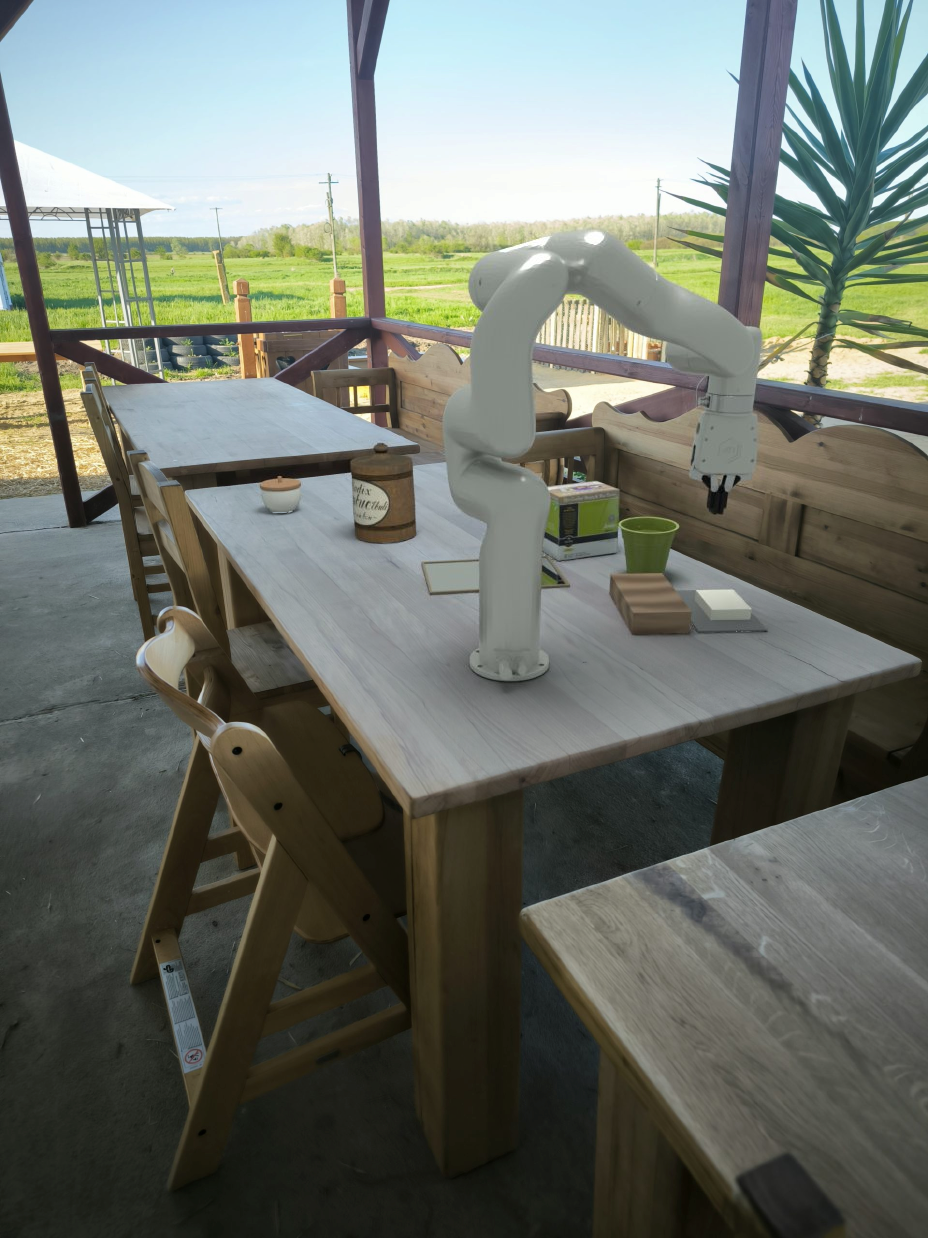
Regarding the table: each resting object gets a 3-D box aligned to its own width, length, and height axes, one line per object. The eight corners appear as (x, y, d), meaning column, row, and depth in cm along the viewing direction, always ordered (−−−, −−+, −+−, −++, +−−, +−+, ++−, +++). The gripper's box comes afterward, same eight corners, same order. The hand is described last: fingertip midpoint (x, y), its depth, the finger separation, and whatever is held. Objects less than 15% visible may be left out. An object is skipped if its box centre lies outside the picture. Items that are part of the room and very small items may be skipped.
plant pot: (627, 564, 174) (630, 513, 170) (681, 573, 169) (686, 521, 164) (606, 581, 165) (609, 527, 161) (663, 591, 159) (668, 535, 155)
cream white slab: (712, 609, 144) (711, 620, 144) (751, 609, 144) (750, 619, 144) (695, 590, 153) (694, 600, 154) (732, 589, 153) (731, 599, 154)
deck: (689, 633, 140) (691, 611, 138) (631, 634, 140) (633, 612, 138) (660, 592, 158) (662, 573, 157) (609, 593, 158) (610, 574, 157)
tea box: (595, 542, 190) (598, 479, 184) (617, 554, 181) (622, 488, 176) (537, 549, 185) (538, 485, 179) (557, 562, 176) (560, 495, 171)
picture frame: (430, 597, 159) (570, 589, 162) (429, 592, 158) (570, 584, 162) (421, 566, 176) (547, 559, 180) (421, 561, 176) (547, 555, 179)
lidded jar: (268, 506, 224) (264, 472, 220) (307, 506, 223) (304, 472, 220) (257, 516, 214) (253, 481, 210) (298, 516, 213) (294, 481, 210)
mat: (767, 631, 140) (767, 629, 140) (698, 633, 140) (698, 630, 140) (729, 591, 159) (729, 589, 159) (667, 592, 159) (668, 590, 158)
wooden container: (342, 534, 198) (336, 443, 189) (391, 523, 207) (387, 435, 198) (378, 547, 187) (374, 451, 179) (428, 535, 196) (426, 443, 188)
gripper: (691, 407, 132) (679, 518, 138) (782, 408, 132) (765, 518, 139) (678, 401, 139) (667, 507, 145) (765, 402, 139) (750, 507, 146)
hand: (715, 512), depth 142 cm, fingers closed
